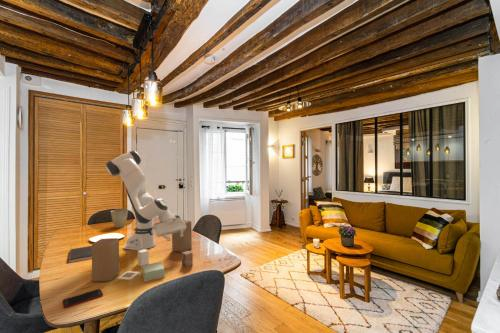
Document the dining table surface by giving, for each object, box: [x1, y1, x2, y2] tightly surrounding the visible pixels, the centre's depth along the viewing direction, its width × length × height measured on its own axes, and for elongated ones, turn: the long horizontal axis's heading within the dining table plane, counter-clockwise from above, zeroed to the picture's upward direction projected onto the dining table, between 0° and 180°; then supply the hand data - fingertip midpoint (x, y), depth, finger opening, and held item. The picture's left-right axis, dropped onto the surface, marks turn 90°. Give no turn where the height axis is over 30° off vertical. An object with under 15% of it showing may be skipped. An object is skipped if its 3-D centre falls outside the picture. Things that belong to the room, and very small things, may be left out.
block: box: [171, 219, 193, 253], centre depth 172 cm, size 10×10×20 cm
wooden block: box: [91, 238, 120, 283], centre depth 131 cm, size 10×10×20 cm
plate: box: [88, 232, 126, 243], centre depth 197 cm, size 23×23×2 cm
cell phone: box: [62, 288, 104, 309], centre depth 110 cm, size 8×15×1 cm, turn 131°
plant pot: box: [110, 208, 129, 229], centre depth 235 cm, size 15×15×16 cm
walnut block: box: [181, 250, 194, 269], centre depth 145 cm, size 4×4×8 cm
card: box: [116, 270, 141, 281], centre depth 132 cm, size 8×8×1 cm
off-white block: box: [137, 249, 150, 267], centre depth 148 cm, size 4×4×8 cm
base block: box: [141, 261, 166, 283], centre depth 133 cm, size 10×10×5 cm
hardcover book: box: [67, 245, 92, 264], centre depth 164 cm, size 16×23×2 cm
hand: (175, 238), depth 153 cm, fingers open, 8 cm apart
